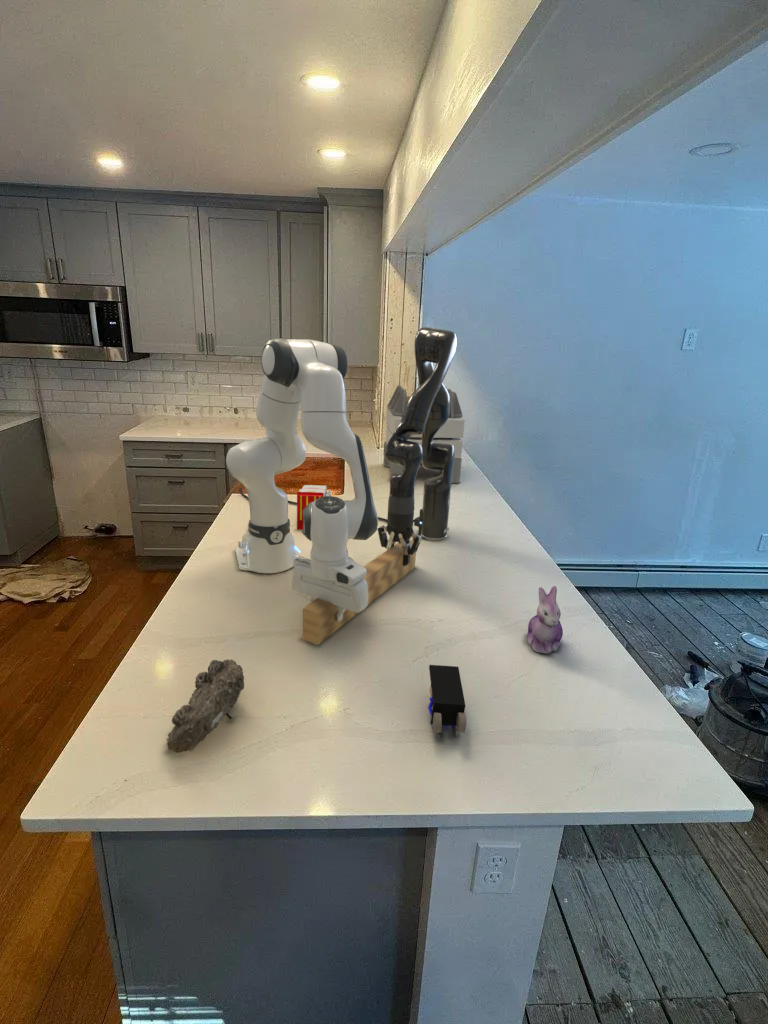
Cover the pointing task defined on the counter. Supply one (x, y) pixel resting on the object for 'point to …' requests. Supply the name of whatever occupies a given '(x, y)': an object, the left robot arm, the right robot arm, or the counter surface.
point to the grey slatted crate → (445, 435)
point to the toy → (308, 500)
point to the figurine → (545, 624)
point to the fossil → (206, 705)
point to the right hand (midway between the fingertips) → (397, 562)
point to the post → (378, 580)
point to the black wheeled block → (446, 699)
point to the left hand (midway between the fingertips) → (328, 616)
